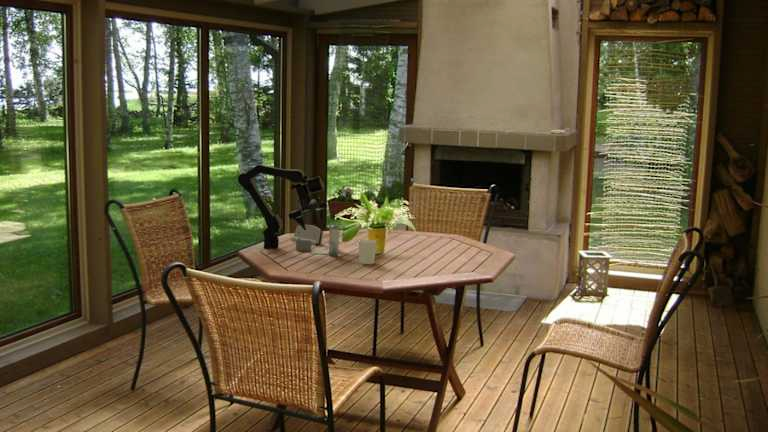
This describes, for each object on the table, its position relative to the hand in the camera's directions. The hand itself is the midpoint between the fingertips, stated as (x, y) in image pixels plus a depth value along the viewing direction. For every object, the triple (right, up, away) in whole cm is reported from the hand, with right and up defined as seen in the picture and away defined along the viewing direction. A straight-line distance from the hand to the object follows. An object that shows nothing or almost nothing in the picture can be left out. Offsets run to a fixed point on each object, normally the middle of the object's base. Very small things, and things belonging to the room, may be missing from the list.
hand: (313, 227), depth 391 cm
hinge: (-5, -8, +21) cm, 23 cm away
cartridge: (+10, -13, -8) cm, 18 cm away
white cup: (+26, -16, -20) cm, 36 cm away
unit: (-5, -11, +2) cm, 12 cm away
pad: (+3, -12, -3) cm, 13 cm away
